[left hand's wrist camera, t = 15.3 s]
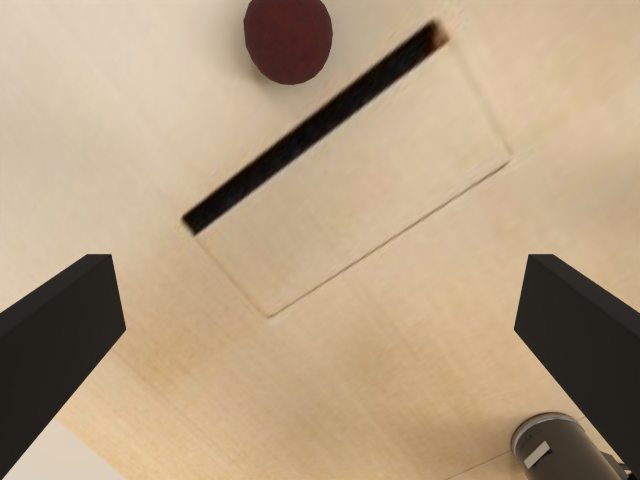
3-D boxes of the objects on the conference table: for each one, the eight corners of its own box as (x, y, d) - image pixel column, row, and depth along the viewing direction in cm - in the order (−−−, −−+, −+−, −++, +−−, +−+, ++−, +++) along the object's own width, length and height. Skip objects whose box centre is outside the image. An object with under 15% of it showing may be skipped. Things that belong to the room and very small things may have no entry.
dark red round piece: (283, 101, 38) (276, 102, 31) (234, 26, 36) (215, 10, 29) (347, 54, 37) (354, 45, 30) (300, -27, 34) (296, -56, 28)
